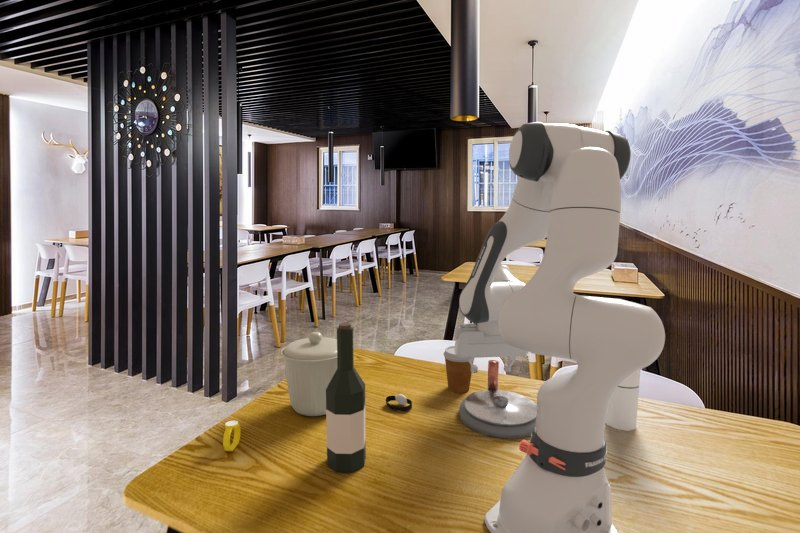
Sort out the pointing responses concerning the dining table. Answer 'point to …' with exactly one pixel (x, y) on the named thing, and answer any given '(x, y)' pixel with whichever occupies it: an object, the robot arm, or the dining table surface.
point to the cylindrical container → (624, 404)
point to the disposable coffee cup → (457, 371)
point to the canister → (310, 372)
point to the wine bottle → (345, 409)
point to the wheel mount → (495, 426)
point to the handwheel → (500, 403)
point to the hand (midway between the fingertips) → (490, 371)
